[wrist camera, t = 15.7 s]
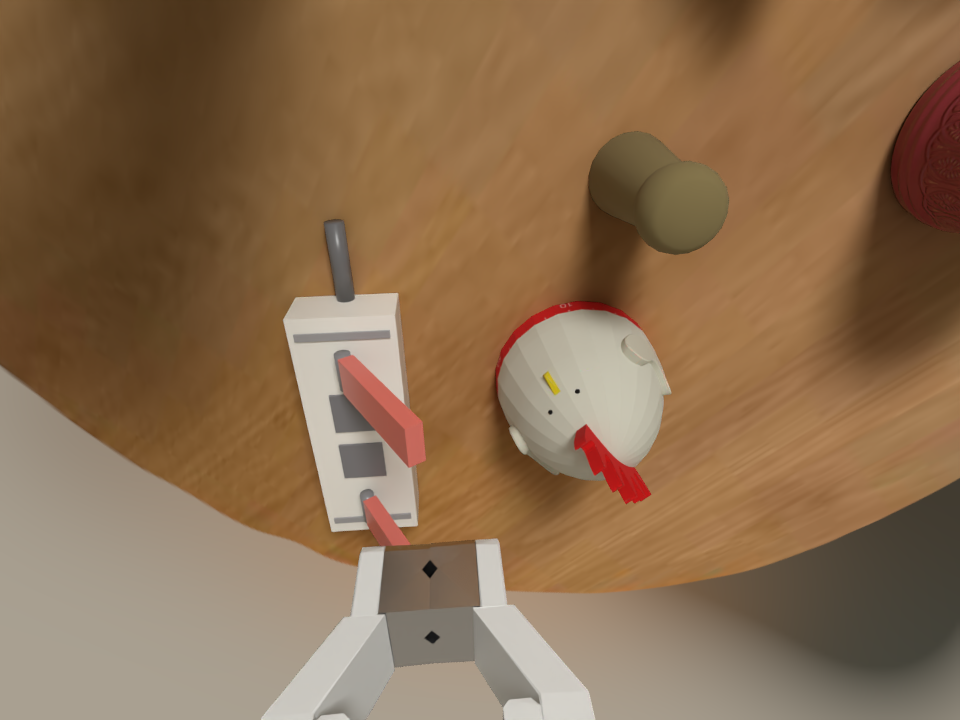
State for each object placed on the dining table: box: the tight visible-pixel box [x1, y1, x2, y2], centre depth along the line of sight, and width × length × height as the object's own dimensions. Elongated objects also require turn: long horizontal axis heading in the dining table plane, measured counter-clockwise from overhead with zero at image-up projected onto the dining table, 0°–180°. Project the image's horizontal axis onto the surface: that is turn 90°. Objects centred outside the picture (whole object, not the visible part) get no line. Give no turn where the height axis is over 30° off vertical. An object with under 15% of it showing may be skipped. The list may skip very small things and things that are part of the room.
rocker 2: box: [360, 489, 411, 546], centre depth 43 cm, size 3×1×11 cm, turn 1°
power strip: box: [283, 219, 419, 532], centre depth 44 cm, size 28×8×4 cm, turn 1°
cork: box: [589, 131, 729, 255], centre depth 34 cm, size 6×6×11 cm
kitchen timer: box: [496, 301, 671, 504], centre depth 40 cm, size 14×14×15 cm
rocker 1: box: [334, 350, 426, 468], centre depth 36 cm, size 3×1×11 cm
